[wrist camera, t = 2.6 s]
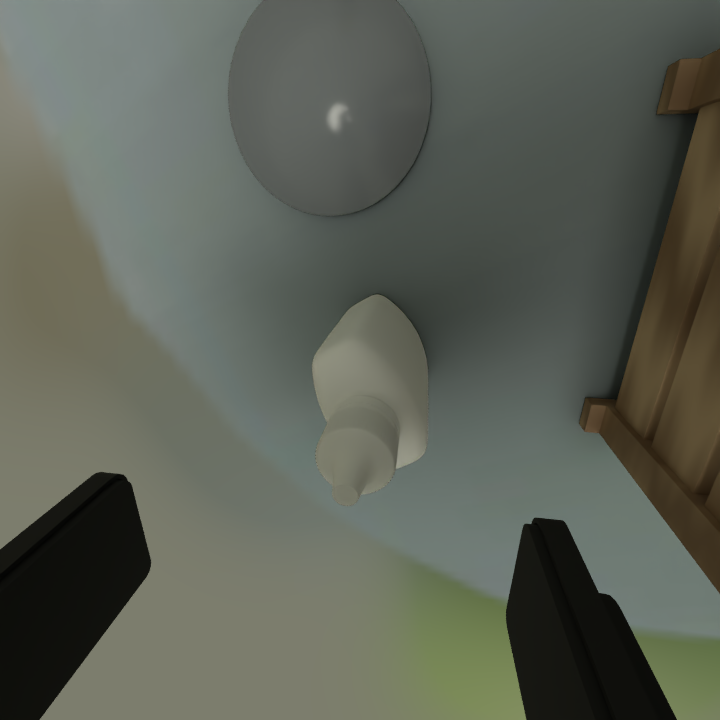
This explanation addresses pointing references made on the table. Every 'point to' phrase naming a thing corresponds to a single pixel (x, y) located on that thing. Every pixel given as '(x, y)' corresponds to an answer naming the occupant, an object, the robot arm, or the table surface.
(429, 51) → the table surface
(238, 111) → the coaster
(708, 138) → the brown piece
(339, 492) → the eye dropper bottle
